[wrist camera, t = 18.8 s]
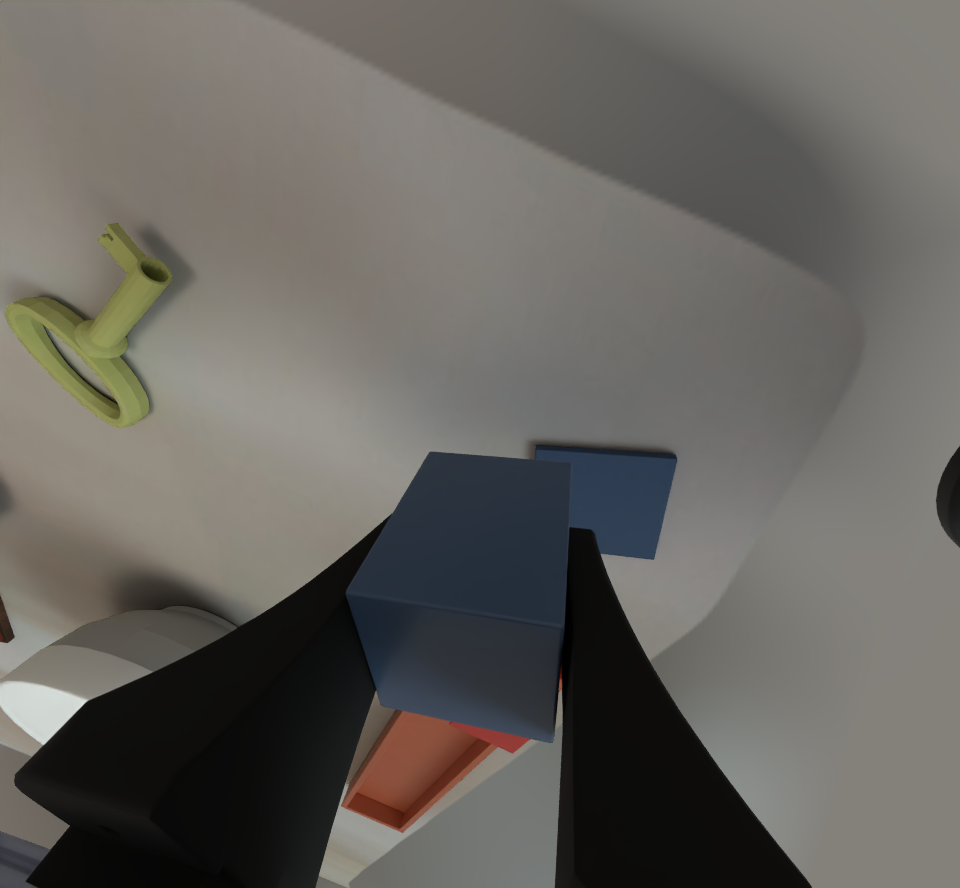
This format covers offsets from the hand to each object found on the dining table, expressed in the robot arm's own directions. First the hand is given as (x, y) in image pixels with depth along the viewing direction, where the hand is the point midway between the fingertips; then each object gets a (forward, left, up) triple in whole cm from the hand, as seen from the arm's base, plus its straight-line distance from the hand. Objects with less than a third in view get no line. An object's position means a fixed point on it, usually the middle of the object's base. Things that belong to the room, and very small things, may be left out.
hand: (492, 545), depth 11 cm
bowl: (+28, +25, -8) cm, 38 cm away
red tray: (+8, +32, -8) cm, 34 cm away
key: (+21, -3, -8) cm, 23 cm away
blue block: (0, 0, -1) cm, 1 cm away
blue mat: (-3, +5, -8) cm, 10 cm away
